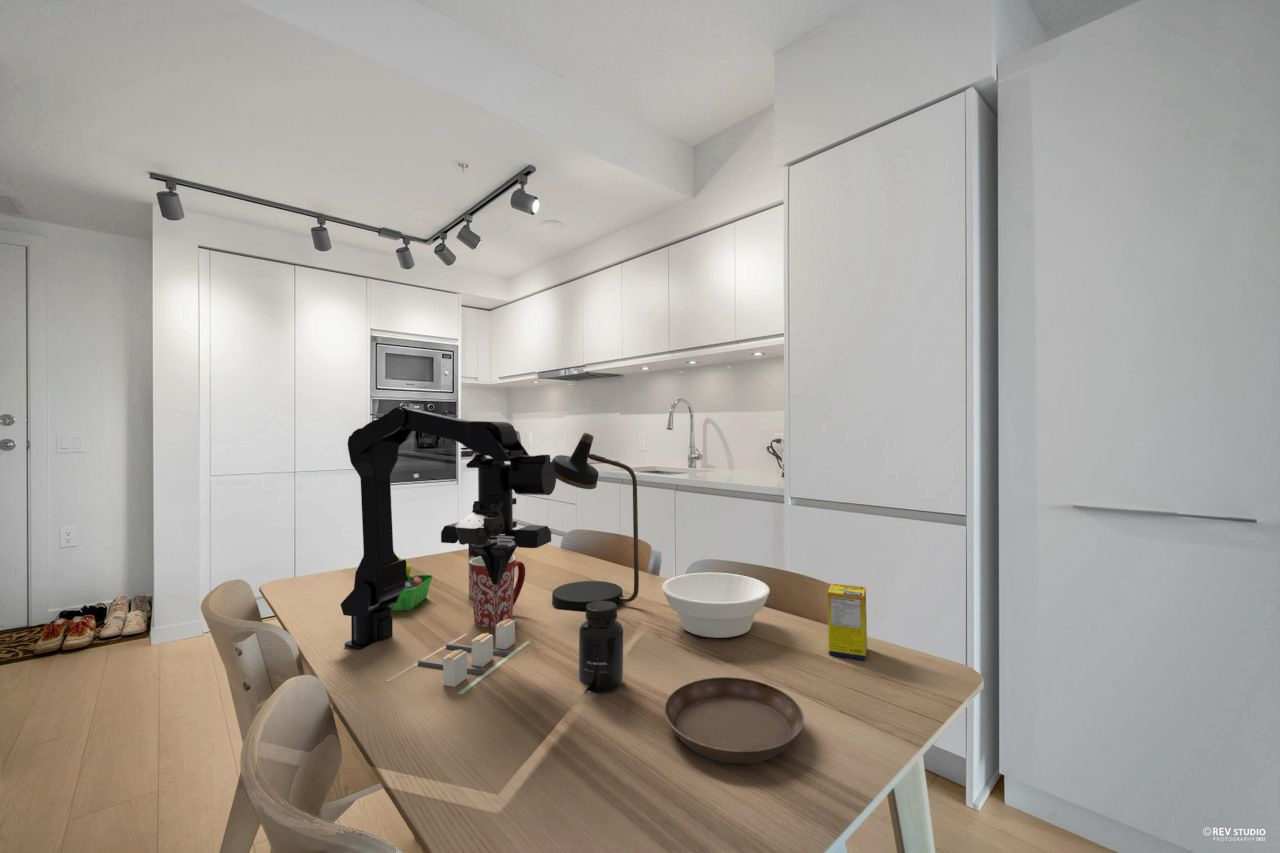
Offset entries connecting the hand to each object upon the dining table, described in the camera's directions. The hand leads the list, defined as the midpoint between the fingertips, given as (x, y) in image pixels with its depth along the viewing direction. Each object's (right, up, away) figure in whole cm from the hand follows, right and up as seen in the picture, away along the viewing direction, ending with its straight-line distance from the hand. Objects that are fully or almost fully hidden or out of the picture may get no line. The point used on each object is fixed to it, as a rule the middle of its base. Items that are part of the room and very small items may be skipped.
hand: (496, 584), depth 92 cm
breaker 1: (-3, -11, -12) cm, 16 cm away
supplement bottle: (+19, -13, -10) cm, 25 cm away
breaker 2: (+1, -11, +2) cm, 11 cm away
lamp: (+14, -13, +29) cm, 35 cm away
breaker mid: (-1, -11, -5) cm, 12 cm away
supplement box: (+61, -12, +1) cm, 62 cm away
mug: (-3, -13, +16) cm, 21 cm away
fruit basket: (-29, -13, +29) cm, 43 cm away
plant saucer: (+37, -12, -23) cm, 45 cm away
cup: (-12, -13, +34) cm, 39 cm away
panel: (-4, -13, -4) cm, 14 cm away
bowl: (+40, -13, +13) cm, 44 cm away
